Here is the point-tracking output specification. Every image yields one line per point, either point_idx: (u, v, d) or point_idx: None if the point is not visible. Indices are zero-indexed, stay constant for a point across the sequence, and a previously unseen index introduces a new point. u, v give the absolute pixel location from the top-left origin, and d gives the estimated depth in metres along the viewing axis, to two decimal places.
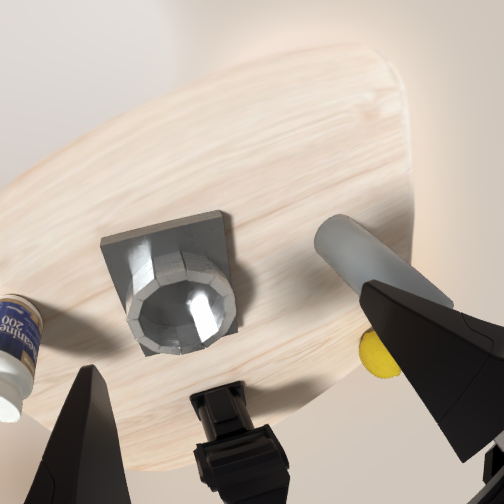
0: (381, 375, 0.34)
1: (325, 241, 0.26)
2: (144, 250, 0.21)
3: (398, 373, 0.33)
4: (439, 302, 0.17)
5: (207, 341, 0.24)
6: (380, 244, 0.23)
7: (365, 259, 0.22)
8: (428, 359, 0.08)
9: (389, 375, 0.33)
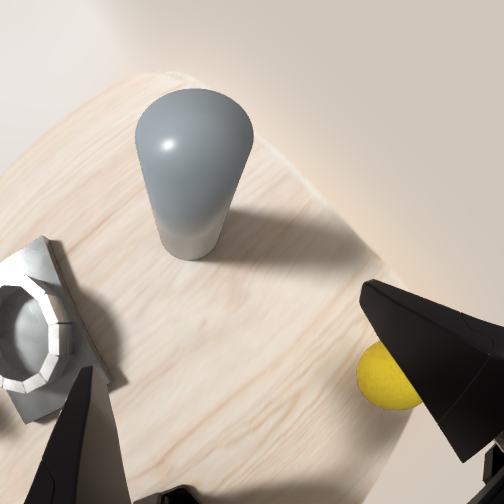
0: (402, 398, 0.17)
1: None
2: None
3: None
4: (167, 95, 0.11)
5: (44, 370, 0.15)
6: None
7: None
8: (428, 359, 0.08)
9: None
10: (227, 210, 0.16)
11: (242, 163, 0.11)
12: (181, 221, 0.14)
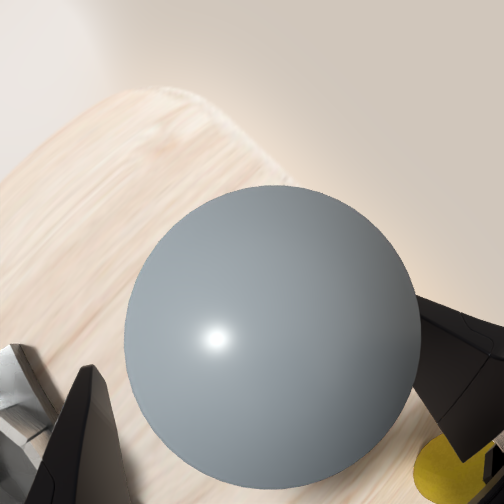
0: (467, 502, 0.10)
1: None
2: None
3: None
4: (197, 209, 0.04)
5: None
6: None
7: None
8: (428, 359, 0.08)
9: None
10: None
11: (401, 402, 0.04)
12: None
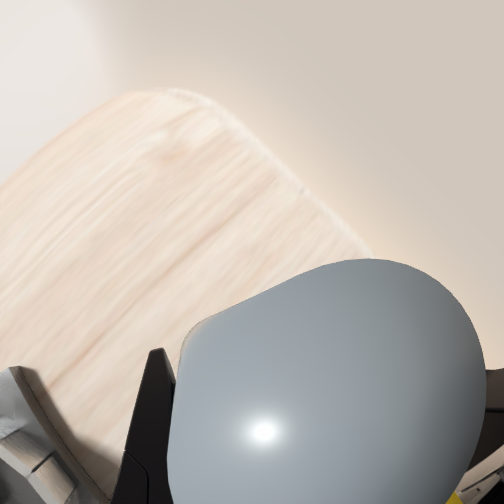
0: None
1: None
2: None
3: None
4: (257, 299, 0.03)
5: None
6: None
7: (181, 354, 0.09)
8: None
9: None
10: None
11: (457, 478, 0.03)
12: None
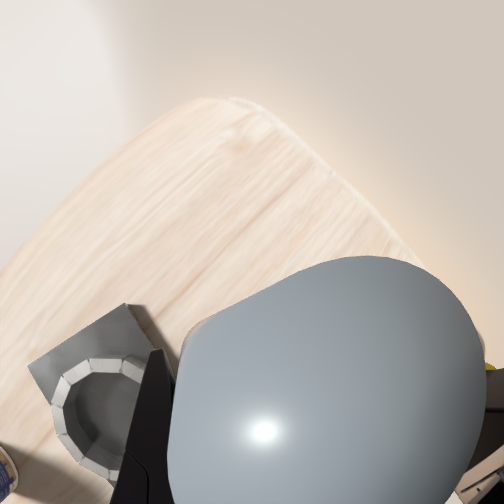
0: None
1: None
2: (65, 362, 0.17)
3: None
4: (257, 296, 0.03)
5: None
6: None
7: (181, 353, 0.09)
8: None
9: None
10: None
11: (458, 476, 0.03)
12: None
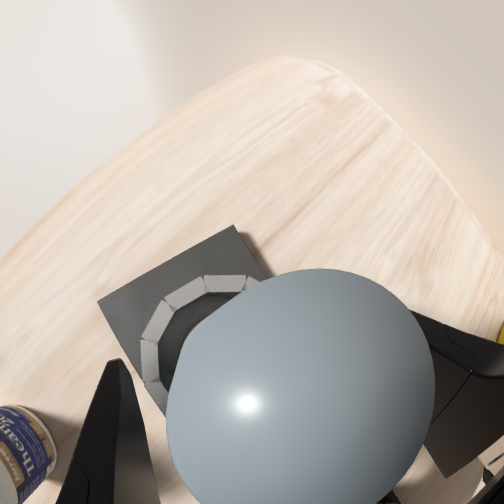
0: None
1: None
2: (152, 294, 0.16)
3: None
4: None
5: None
6: None
7: (181, 349, 0.10)
8: None
9: None
10: None
11: (412, 456, 0.04)
12: None
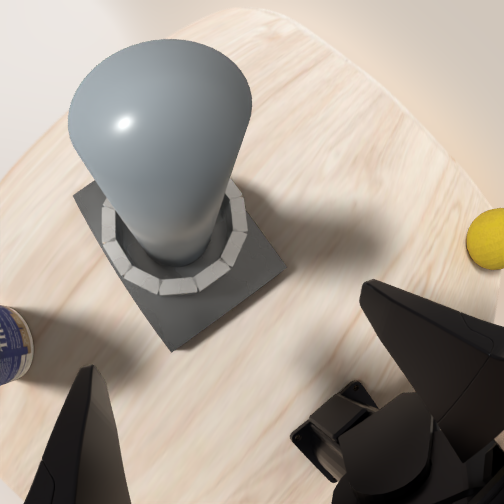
0: None
1: None
2: None
3: None
4: (116, 54, 0.07)
5: (227, 253, 0.17)
6: None
7: None
8: (428, 359, 0.08)
9: None
10: (219, 207, 0.12)
11: (238, 140, 0.07)
12: (156, 231, 0.10)
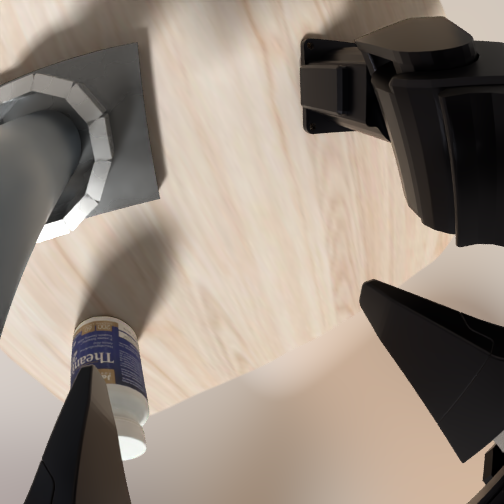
0: None
1: None
2: None
3: None
4: None
5: (86, 113, 0.11)
6: None
7: None
8: (428, 359, 0.08)
9: None
10: (25, 151, 0.07)
11: None
12: (32, 250, 0.07)
